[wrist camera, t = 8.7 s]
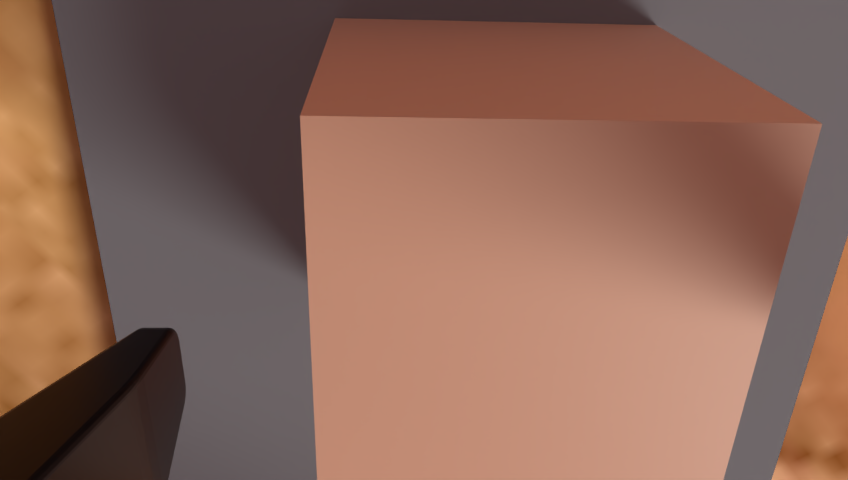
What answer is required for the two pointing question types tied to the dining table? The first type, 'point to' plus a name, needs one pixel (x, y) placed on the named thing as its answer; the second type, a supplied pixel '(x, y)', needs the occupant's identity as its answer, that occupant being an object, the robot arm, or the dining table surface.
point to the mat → (284, 197)
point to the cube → (538, 249)
